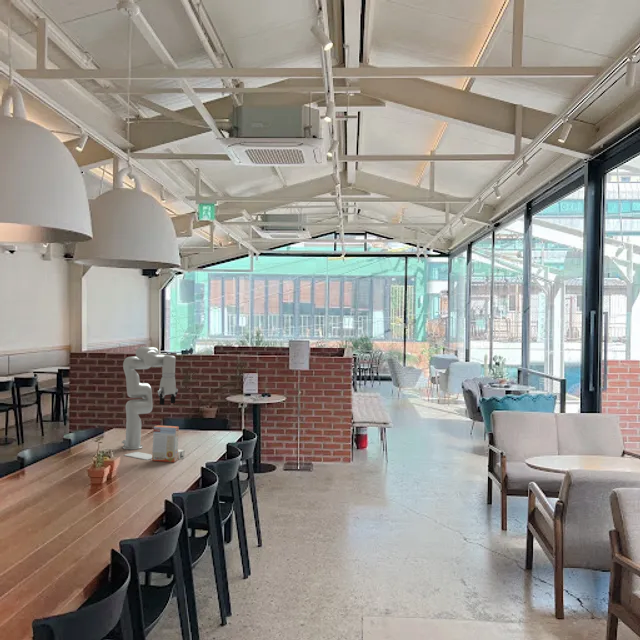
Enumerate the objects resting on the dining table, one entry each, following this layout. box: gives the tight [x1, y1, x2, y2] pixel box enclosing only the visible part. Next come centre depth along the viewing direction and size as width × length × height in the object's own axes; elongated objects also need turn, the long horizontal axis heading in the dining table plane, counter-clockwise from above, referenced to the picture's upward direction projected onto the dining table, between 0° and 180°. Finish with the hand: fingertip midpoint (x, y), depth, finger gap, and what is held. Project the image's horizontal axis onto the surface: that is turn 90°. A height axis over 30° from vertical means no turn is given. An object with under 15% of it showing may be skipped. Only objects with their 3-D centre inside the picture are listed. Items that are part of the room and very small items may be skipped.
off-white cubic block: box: [177, 448, 185, 461], centre depth 367 cm, size 5×5×5 cm
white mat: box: [123, 451, 152, 461], centre depth 368 cm, size 19×11×1 cm, turn 63°
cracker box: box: [151, 425, 180, 463], centre depth 359 cm, size 14×6×21 cm, turn 84°
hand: (167, 403), depth 361 cm, fingers open, 9 cm apart
